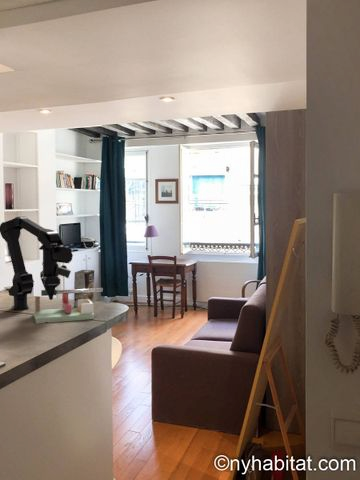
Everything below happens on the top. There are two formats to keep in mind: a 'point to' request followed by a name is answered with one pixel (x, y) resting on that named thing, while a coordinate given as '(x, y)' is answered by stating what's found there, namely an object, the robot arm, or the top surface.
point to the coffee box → (83, 285)
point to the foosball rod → (65, 302)
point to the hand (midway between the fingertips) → (49, 297)
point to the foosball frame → (60, 315)
